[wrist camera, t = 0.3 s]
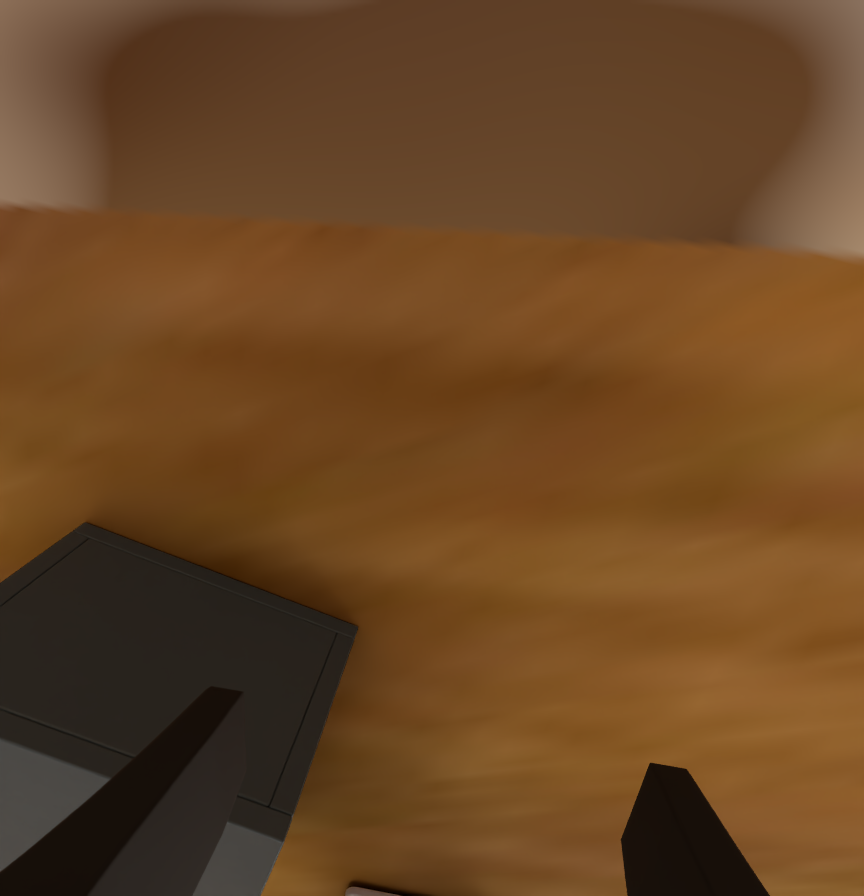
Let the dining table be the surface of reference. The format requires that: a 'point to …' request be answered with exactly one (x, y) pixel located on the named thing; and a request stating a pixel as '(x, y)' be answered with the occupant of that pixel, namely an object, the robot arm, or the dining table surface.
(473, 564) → the dining table surface
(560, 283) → the dining table surface
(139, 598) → the cabinet
